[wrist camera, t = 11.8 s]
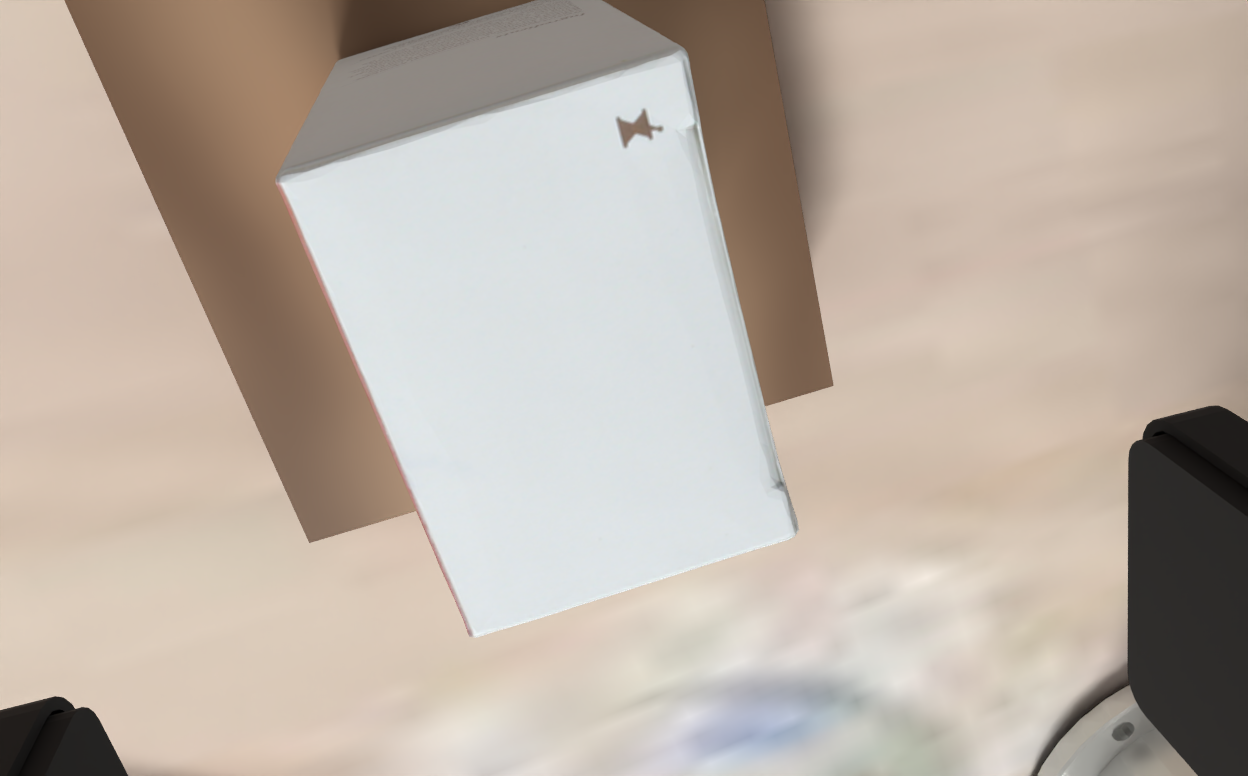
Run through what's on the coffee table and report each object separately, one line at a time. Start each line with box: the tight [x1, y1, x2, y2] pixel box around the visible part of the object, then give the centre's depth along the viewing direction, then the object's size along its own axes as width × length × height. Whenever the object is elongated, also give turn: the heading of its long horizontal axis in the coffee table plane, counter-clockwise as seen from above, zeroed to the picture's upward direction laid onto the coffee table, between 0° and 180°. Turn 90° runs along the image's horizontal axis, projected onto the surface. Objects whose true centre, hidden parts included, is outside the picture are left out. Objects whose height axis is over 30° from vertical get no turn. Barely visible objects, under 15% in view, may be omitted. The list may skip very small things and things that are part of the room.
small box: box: [275, 0, 799, 637], centre depth 20 cm, size 8×6×10 cm
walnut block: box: [65, 0, 833, 543], centre depth 27 cm, size 14×14×5 cm
